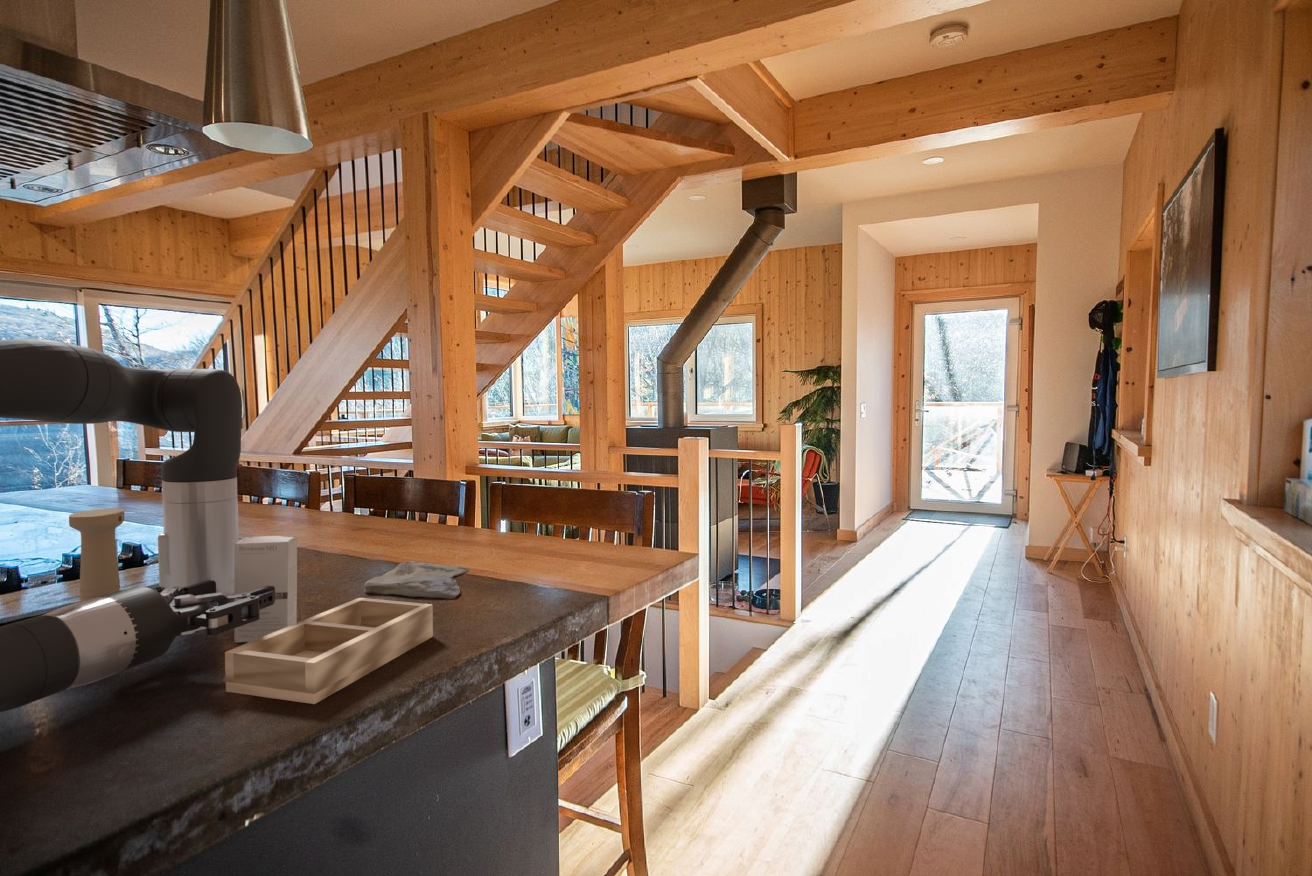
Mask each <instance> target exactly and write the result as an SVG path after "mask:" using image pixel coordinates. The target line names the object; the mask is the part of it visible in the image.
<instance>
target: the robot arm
mask: <svg viewBox="0 0 1312 876" xmlns="http://www.w3.org/2000/svg"><path fill="white" fill-rule="evenodd" d="M0 418H2V419H17V420H29V421H35V422H45V423H46V422H47V423H49V422H50V423H61V424H74V425H75V424H76V425H77V424H79V425H81V424H85V425H86V424H87V425H91V424H92V425H93V424H103V423H109V422H124V423H125V422H126V423H132V424H136V425H140V426H141V425H142V426H147V427H150V428H154V429H158V430H163V431H168V432H174V433H193V440H192V445H191V446H190V447H189V448H188V449H187V450H186V451H184V452H182V453H181V454H179V455H176V456H173V457H170V458H168V459H166V460H164V461H163V463H162V464H161V465H162V466H161V487H162V490H161V491H162V492H161V493H162V513H163V517H162V518H163V519H162V520H163V521H162V522H163V533H160V534H158V536H157V551H158V553H157V555H158V560H157V561H158V582H159V584H158V586H156V587H153V588H151V587H148V586H134V587H132V588H127V589H124V590H120V591H119V592H115V593H112V594H108V595H104V596H101V597H97V598H93V599H90V600H86V601H82V602H79V601H78V602H75V603H72V604H68V605H64V606H62V607H59V608H57V609H54V610H51V611H50V612H47V613H45V614H41V615H38V616H34V617H29V618H26V619H23V620H19V621H18V620H17V621H14V622H12V623H8V624H5V625H2V626H0V713H4V712H7V711H11V710H14V709H18V708H21V707H23V706H26V705H29V704H32V703H34V702H37V701H39V700H41V699H45V698H47V697H50V696H52V695H55V694H58V693H61V692H64V691H67V690H71V689H74V688H79V687H83V686H87V685H88V684H93V683H95V682H98V681H101V680H103V679H106V678H109V677H112V676H114V675H116V674H119V673H121V672H124V671H127V670H129V669H133V668H134V667H138V666H141V665H144V664H145V663H147V662H150V661H153V660H156V659H158V658H160V657H162V656H163V655H164V654H165V653H167V651H168V650H169V649H170V648H171V646H172V644H173V642H174V641H175V639H176V638H177V636H186V635H192V634H194V633H196V631H200V630H201V631H202V630H205V633H206V636H211V637H213V636H216V635H220V634H222V633H225V632H228V631H231V630H235V628H237V627H240V626H242V625H245V624H248V623H251V622H254V621H257V620H259V619H260V609H263V608H266V607H268V606H271V605H273V604H274V603H275V587H274V586H265V587H262V588H259V589H256V590H253V591H249V592H246V593H242V594H237V595H235V543H237V542H238V541H240V540H239V538H240V537H239V506H238V505H239V503H238V502H239V501H238V465H239V461H240V457H241V452H242V451H241V450H242V420H243V401H242V392H241V388H240V386H239V383H238V381H237V380H236V377H234V375H232V374H231V373H230V372H228V371H227V370H224V369H218V368H166V369H157V368H156V369H152V368H151V369H150V368H149V369H148V368H135V367H130V366H124V365H122V364H121V363H120V362H119V361H117V359H115V358H114V357H112V356H110V355H109V354H107V353H104V352H102V351H101V350H96V349H94V348H89V347H86V346H82V345H78V344H77V345H76V344H71V343H66V342H62V341H56V340H52V339H51V340H50V339H40V338H39V339H38V338H16V339H15V338H13V339H0ZM210 602H216V605H215V606H212V608H211V604H210Z"/></svg>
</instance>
